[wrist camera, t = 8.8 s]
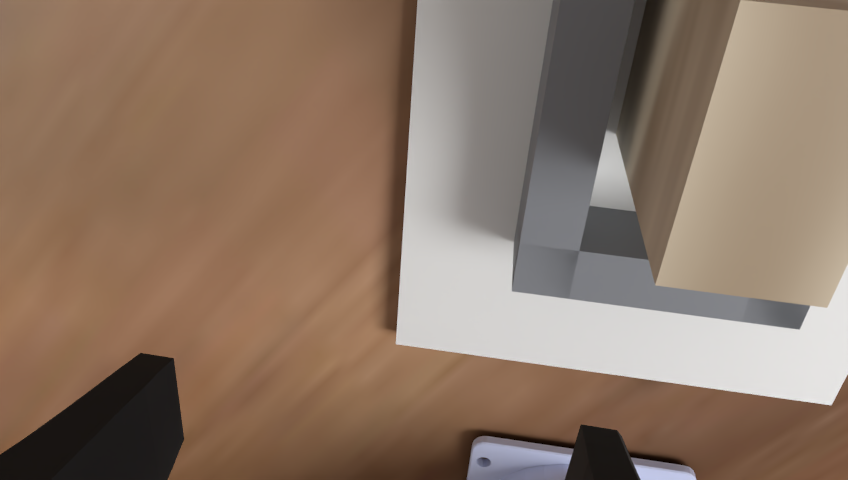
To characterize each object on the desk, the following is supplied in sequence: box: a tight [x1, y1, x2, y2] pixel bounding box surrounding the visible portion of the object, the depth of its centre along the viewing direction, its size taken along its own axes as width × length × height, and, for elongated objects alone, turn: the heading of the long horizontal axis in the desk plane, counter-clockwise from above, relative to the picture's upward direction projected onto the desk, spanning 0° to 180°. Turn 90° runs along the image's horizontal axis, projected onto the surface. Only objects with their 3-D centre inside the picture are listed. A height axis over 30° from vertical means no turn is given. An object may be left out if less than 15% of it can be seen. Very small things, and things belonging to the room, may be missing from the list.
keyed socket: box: [396, 0, 848, 405], centre depth 17 cm, size 20×14×3 cm
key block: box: [616, 0, 848, 308], centre depth 14 cm, size 3×5×7 cm, turn 176°
